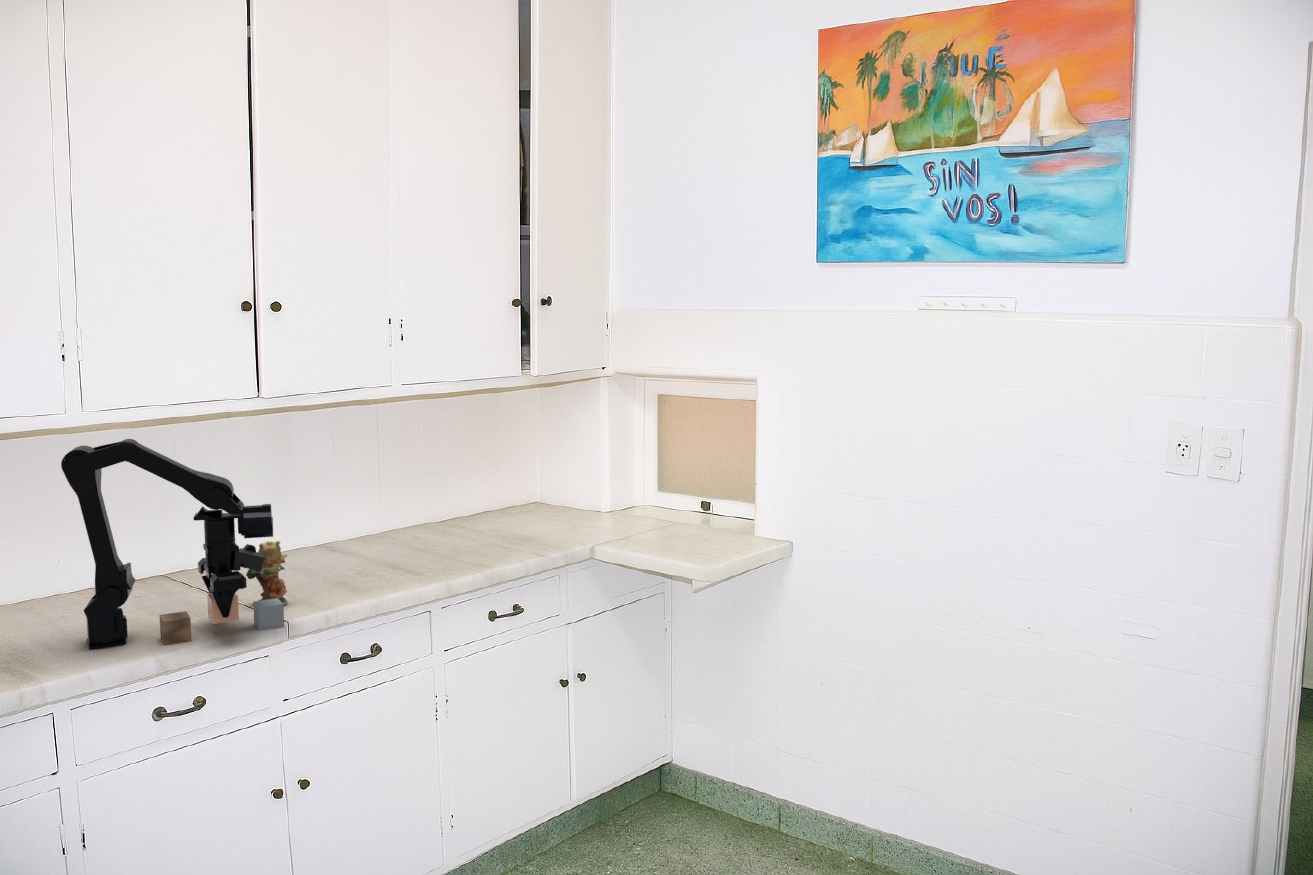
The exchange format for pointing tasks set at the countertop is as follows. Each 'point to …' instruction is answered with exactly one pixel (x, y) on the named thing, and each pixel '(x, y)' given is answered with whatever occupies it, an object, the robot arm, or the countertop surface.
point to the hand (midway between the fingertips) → (223, 613)
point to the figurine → (270, 572)
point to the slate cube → (268, 614)
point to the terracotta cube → (216, 615)
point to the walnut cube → (175, 628)
